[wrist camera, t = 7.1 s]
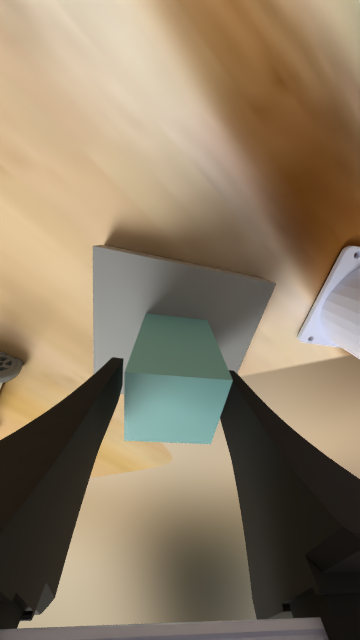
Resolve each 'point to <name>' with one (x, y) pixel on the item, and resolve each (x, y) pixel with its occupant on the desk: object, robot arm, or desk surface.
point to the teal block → (174, 382)
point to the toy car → (9, 367)
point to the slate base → (171, 301)
